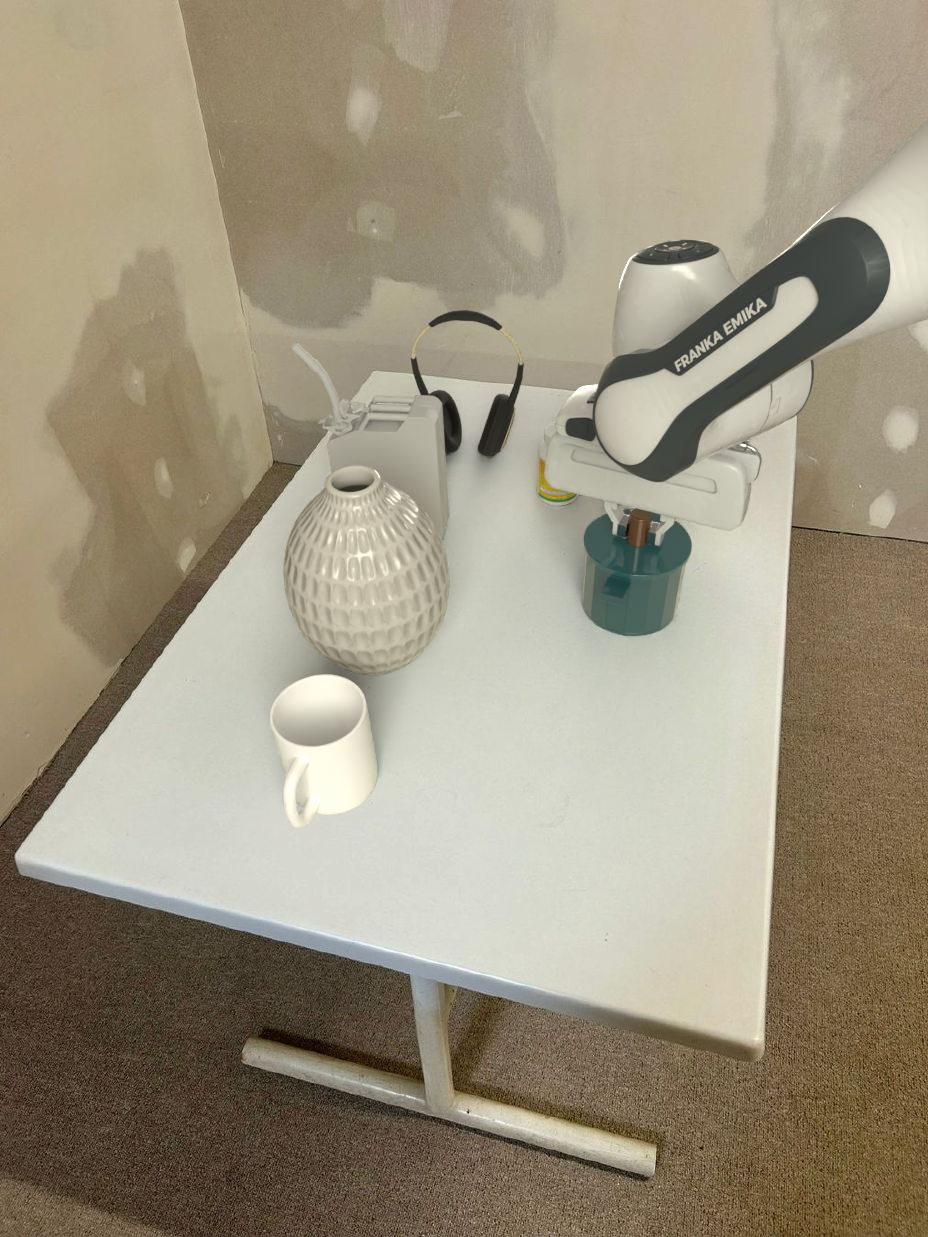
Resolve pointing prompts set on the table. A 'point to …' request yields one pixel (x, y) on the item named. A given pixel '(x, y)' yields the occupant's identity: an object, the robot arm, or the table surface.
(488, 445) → the headphones
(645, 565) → the lid
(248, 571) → the table surface
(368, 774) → the cup
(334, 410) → the fuel canister
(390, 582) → the vase
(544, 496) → the supplement bottle
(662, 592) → the cooking pot
